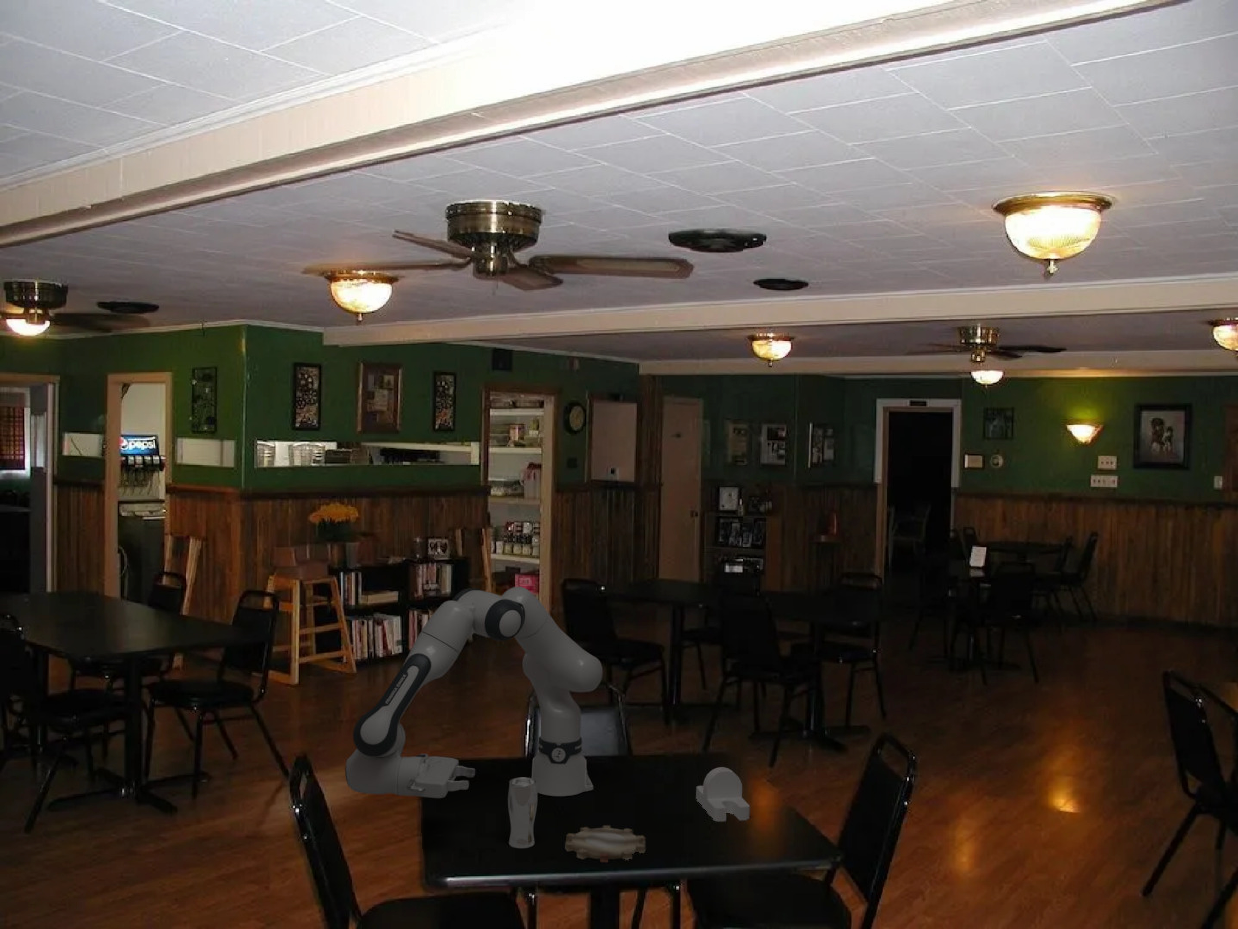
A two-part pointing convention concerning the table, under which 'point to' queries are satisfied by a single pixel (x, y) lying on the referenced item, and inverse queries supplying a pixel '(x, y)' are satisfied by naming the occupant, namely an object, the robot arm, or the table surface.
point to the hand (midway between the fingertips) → (471, 779)
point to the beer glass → (522, 811)
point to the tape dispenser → (722, 795)
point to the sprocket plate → (605, 843)
